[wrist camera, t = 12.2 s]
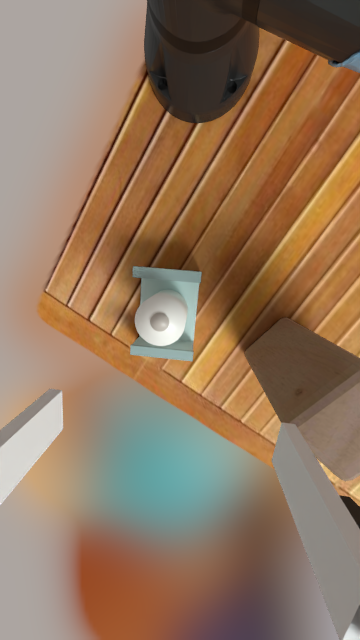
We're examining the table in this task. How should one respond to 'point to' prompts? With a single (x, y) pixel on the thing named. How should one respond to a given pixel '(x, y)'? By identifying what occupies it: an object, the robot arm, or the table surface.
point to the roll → (162, 318)
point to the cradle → (188, 288)
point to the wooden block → (312, 391)
